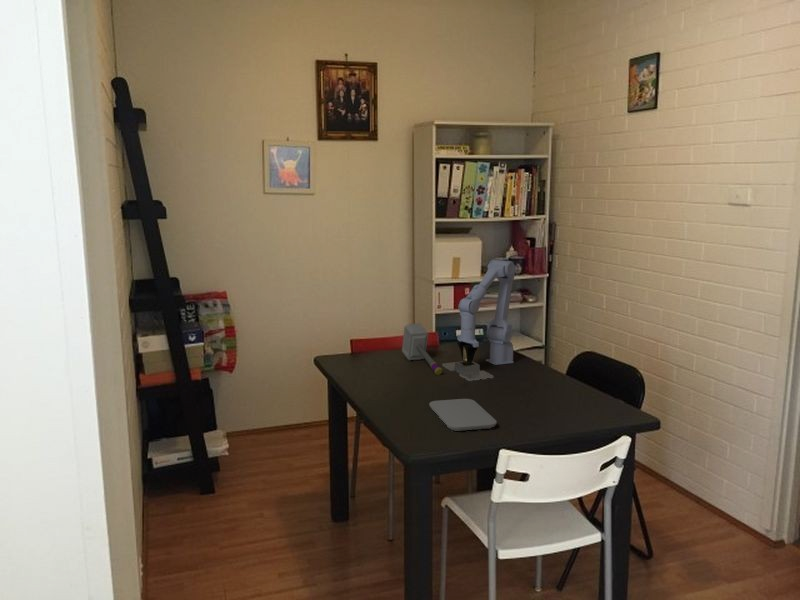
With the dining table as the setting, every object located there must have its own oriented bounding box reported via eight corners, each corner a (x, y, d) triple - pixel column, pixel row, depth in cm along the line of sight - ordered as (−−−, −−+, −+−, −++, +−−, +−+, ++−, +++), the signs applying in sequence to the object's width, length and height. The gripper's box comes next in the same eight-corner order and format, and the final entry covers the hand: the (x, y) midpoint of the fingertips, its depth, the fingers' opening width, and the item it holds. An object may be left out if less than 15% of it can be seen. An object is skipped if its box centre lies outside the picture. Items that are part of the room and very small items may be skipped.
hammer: (450, 354, 272) (421, 321, 298) (432, 356, 270) (405, 323, 295) (445, 387, 278) (417, 352, 304) (427, 389, 276) (401, 354, 301)
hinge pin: (468, 363, 281) (469, 345, 280) (473, 366, 278) (473, 346, 277) (461, 365, 280) (461, 345, 278) (466, 367, 277) (466, 347, 275)
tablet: (471, 404, 241) (471, 398, 240) (499, 430, 216) (499, 423, 216) (427, 407, 237) (427, 401, 237) (450, 434, 212) (450, 427, 212)
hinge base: (465, 363, 292) (465, 355, 292) (493, 378, 271) (493, 369, 270) (442, 365, 288) (442, 357, 287) (468, 381, 267) (469, 372, 266)
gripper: (451, 325, 281) (450, 357, 284) (467, 332, 268) (467, 366, 271) (466, 323, 284) (465, 355, 286) (483, 331, 271) (482, 364, 273)
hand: (467, 360), depth 279 cm, fingers closed on hinge pin, 4 cm apart
